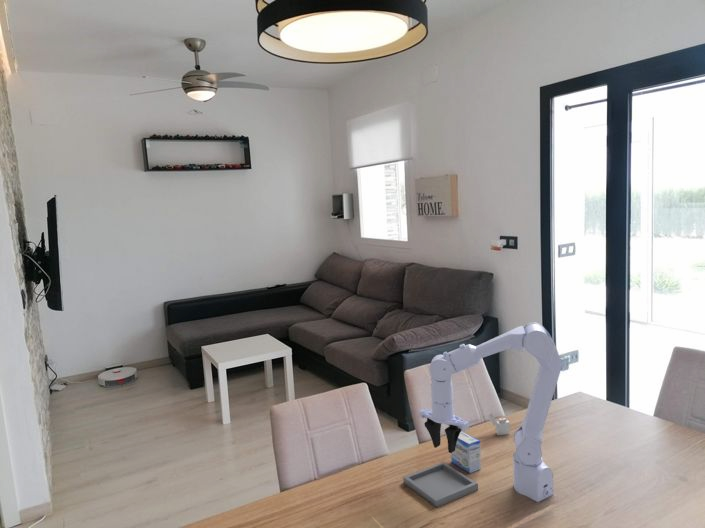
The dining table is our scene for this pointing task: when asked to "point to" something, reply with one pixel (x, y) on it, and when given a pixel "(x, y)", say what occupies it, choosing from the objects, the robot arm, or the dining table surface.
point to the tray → (440, 484)
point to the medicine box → (467, 453)
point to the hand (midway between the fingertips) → (444, 448)
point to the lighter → (500, 425)
